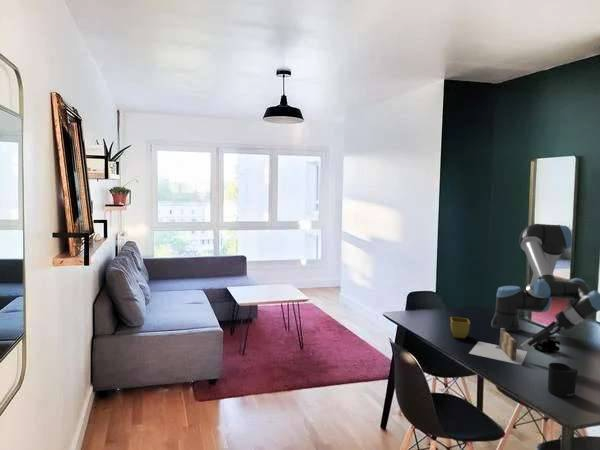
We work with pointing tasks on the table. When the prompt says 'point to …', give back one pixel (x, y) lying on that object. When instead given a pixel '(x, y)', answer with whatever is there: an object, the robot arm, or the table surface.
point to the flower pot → (459, 327)
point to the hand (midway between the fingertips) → (522, 347)
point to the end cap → (548, 346)
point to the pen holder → (562, 380)
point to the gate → (508, 344)
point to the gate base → (497, 353)
